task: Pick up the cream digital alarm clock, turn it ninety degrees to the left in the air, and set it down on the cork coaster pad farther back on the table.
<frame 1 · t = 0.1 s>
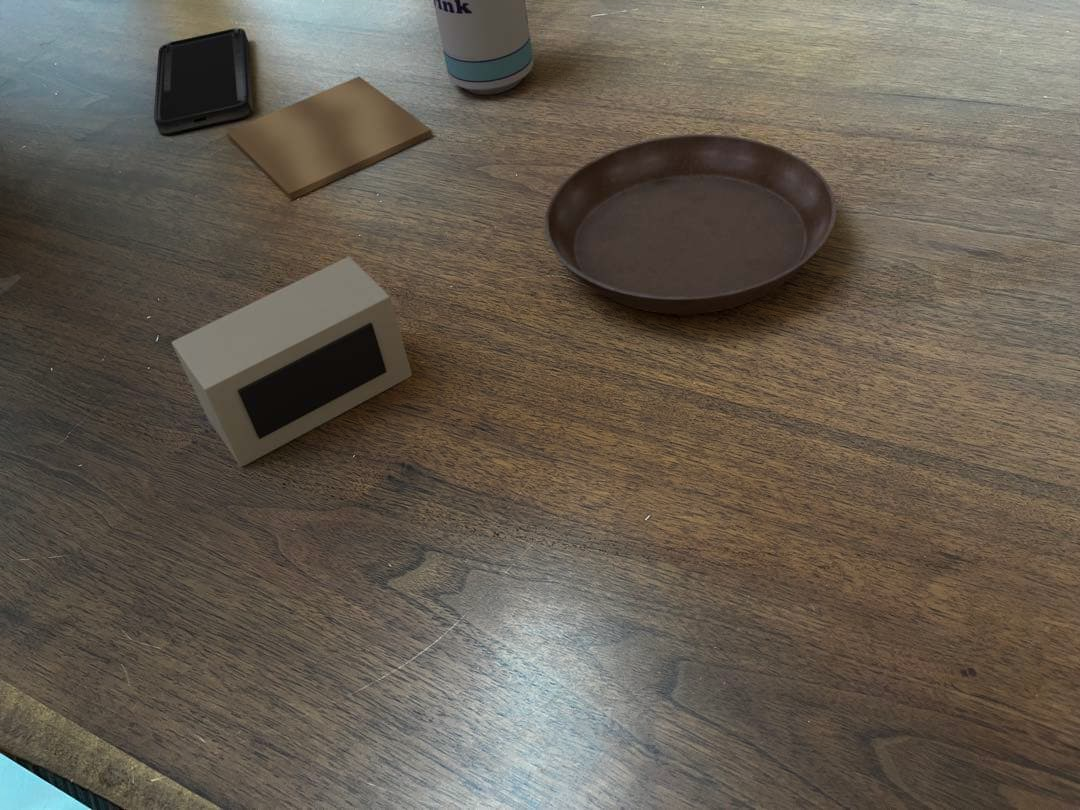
plant saucer: (688, 249, 69), on the table
phone: (206, 86, 93), on the table
clock: (310, 397, 63), on the table
pad: (328, 137, 84), on the table
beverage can: (493, 81, 88), on the table
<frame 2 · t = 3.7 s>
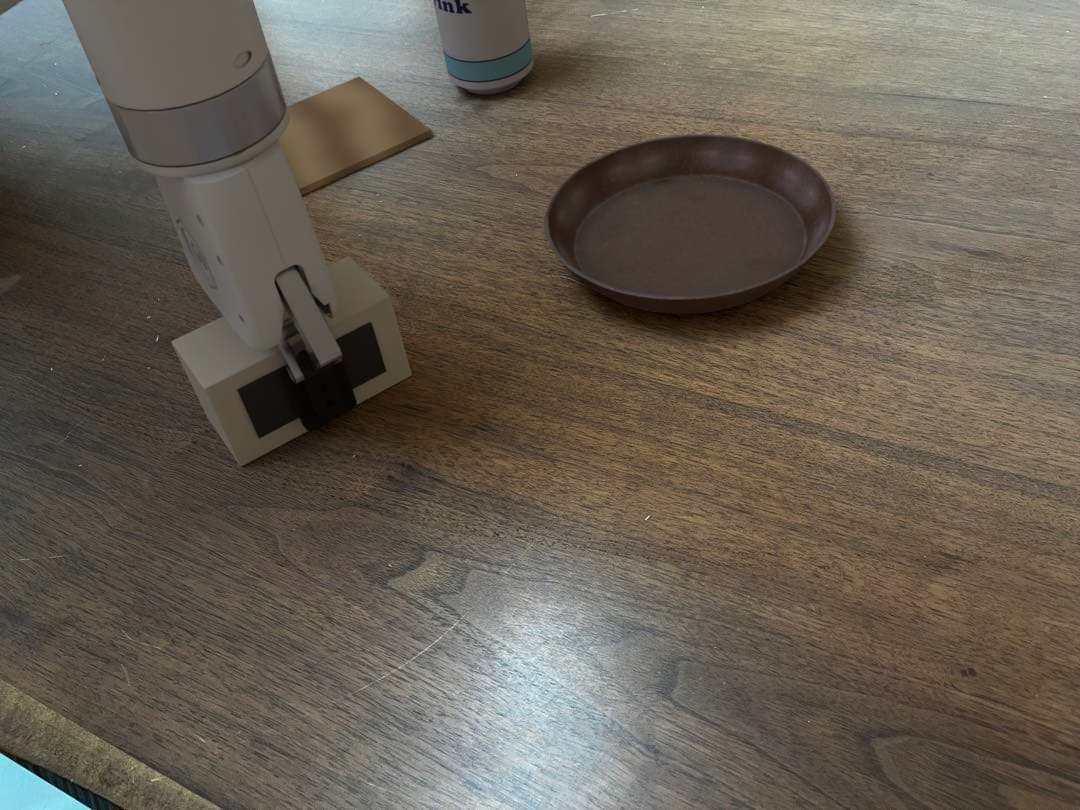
hand: (307, 386, 62), 1 cm above the table, tool pointing down, fingers closed on clock, 5 cm apart
clock: (310, 397, 63), on the table, touching gripper
everything else where it was.
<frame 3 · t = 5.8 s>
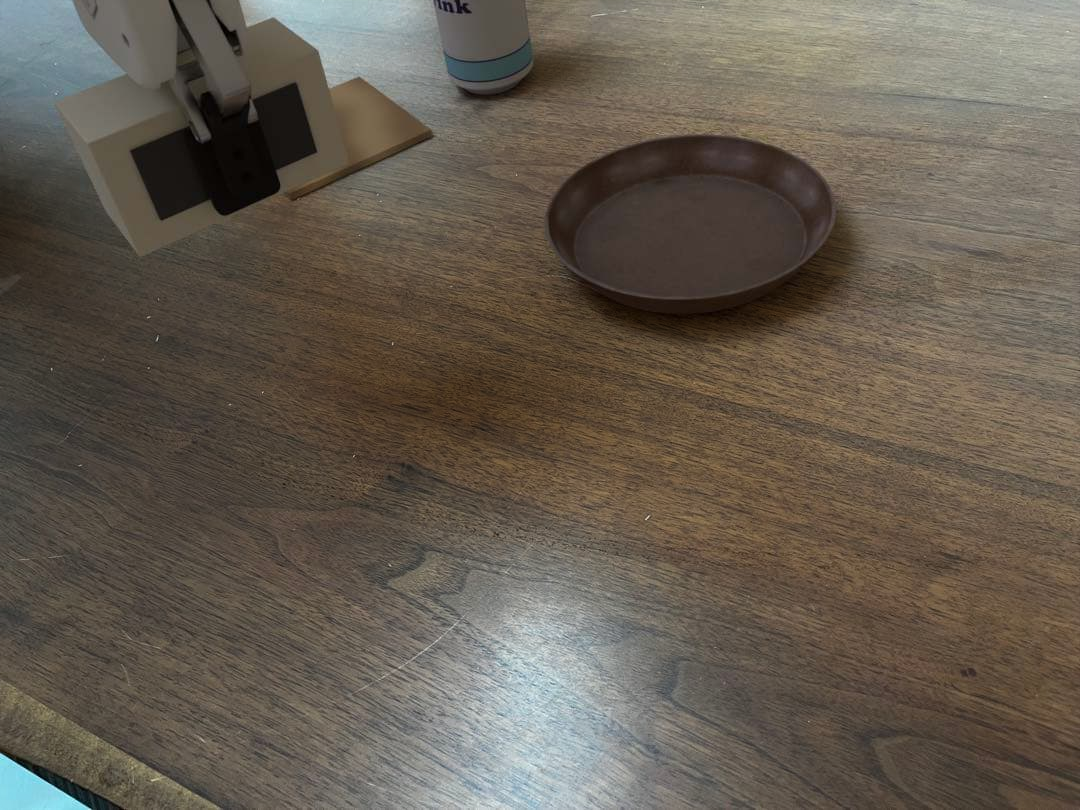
hand: (223, 173, 53), 15 cm above the table, tool pointing down, fingers closed on clock, 5 cm apart
clock: (228, 188, 53), point 14 cm above the table, touching gripper
everything else where it was.
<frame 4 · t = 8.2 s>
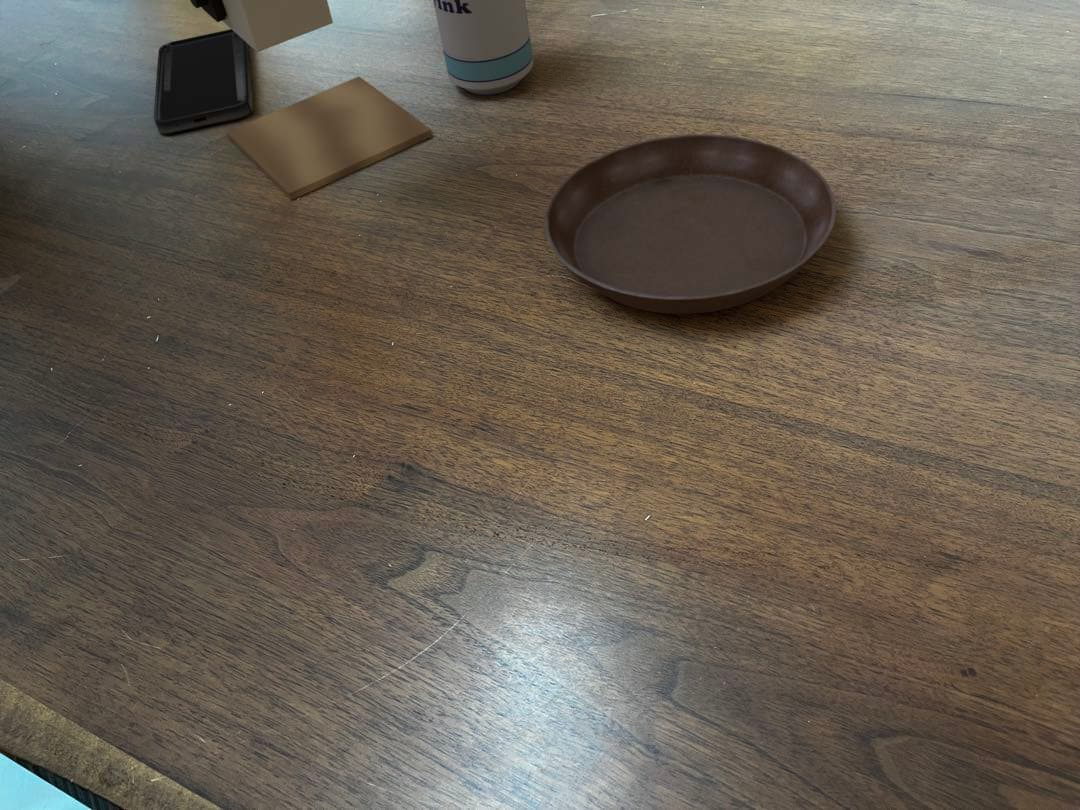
clock: (260, 9, 68), point 14 cm above the table, touching gripper
everything else where it was.
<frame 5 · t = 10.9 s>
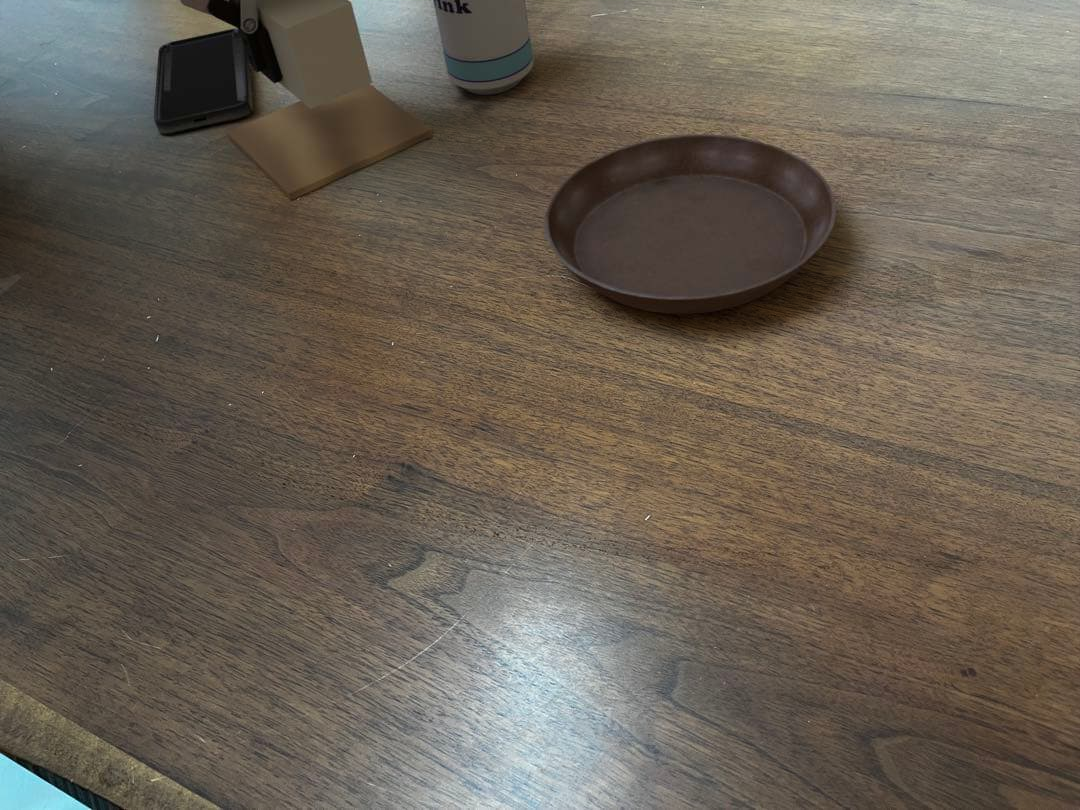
hand: (306, 58, 80), 7 cm above the table, tool pointing down, fingers closed on clock, 5 cm apart
clock: (308, 70, 80), point 6 cm above the table, touching gripper
everything else where it was.
when the fingers open (1 cm above the table, at t = 12.6 s): clock stays where it is, resting on pad.
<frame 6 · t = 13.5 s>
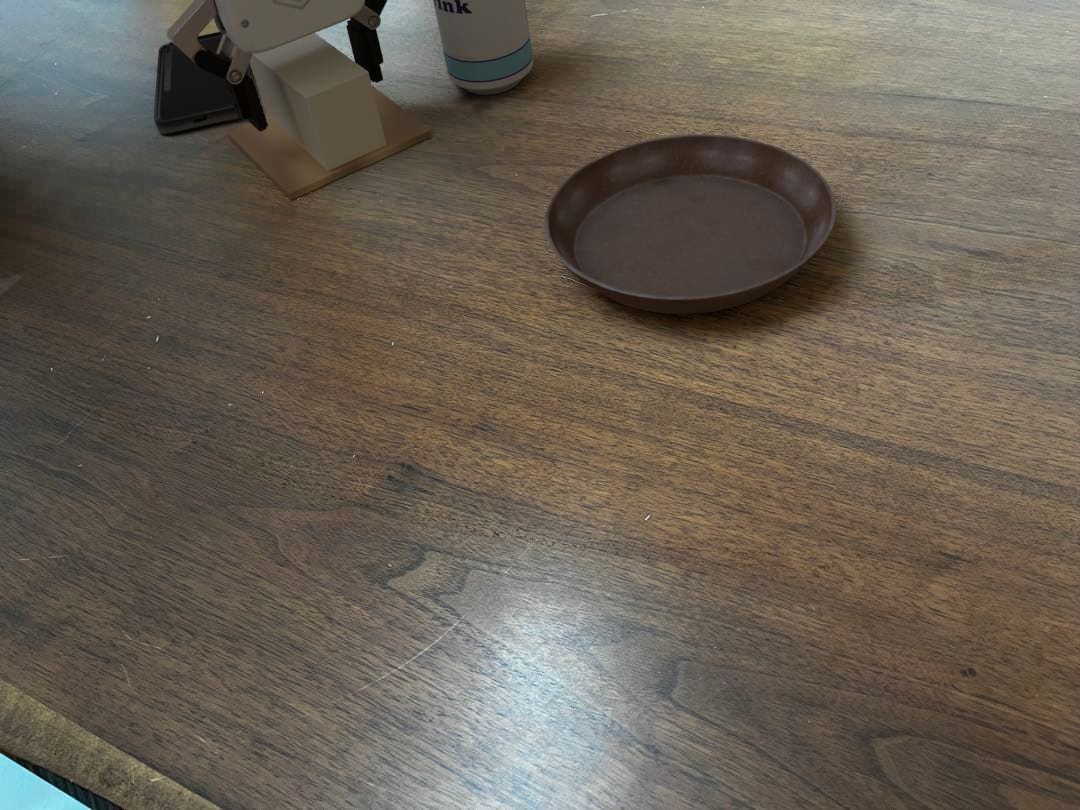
hand: (314, 99, 82), 3 cm above the table, tool pointing down, fingers open, 9 cm apart
clock: (325, 131, 84), point 1 cm above the table, touching pad
everything else where it was.
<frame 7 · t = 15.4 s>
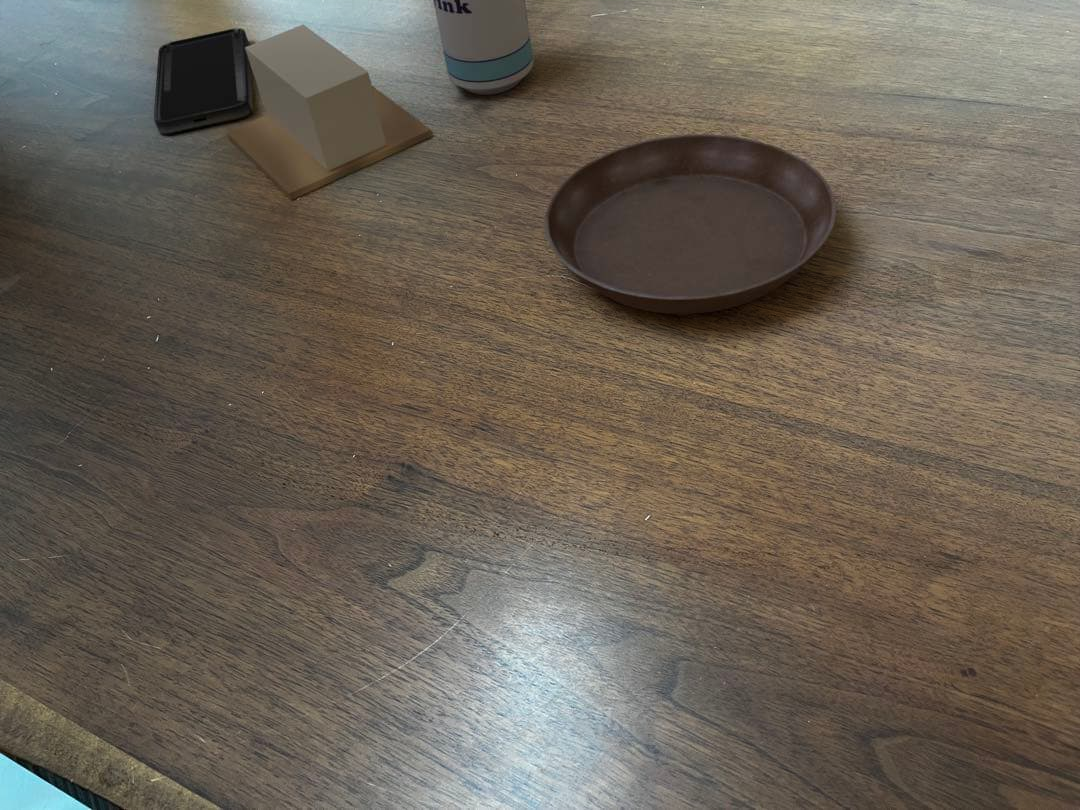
nothing on the table moved.
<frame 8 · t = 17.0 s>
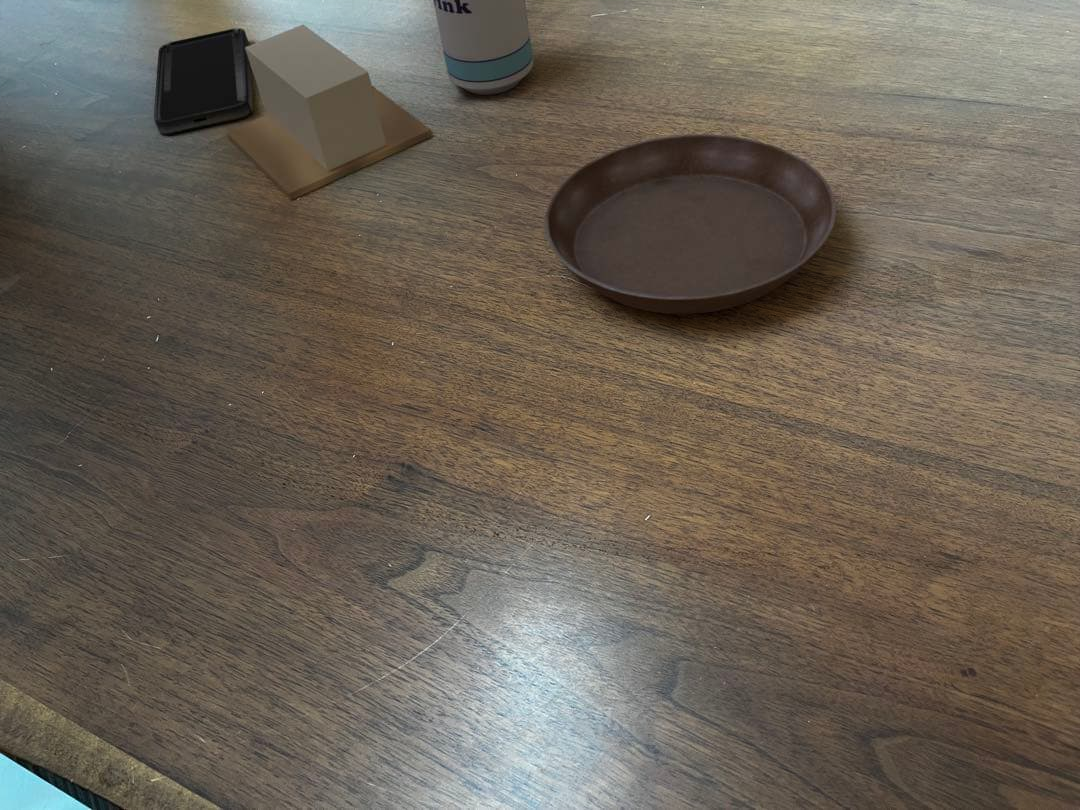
nothing on the table moved.
at the end: clock 0.1 cm off-centre on the pad, point 0.6 cm above the pad's base; clock tilted 0°; the gripper is holding nothing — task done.
